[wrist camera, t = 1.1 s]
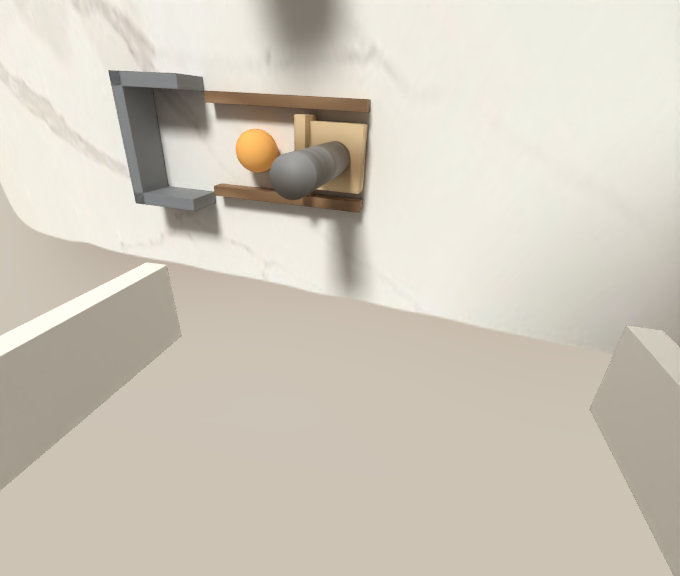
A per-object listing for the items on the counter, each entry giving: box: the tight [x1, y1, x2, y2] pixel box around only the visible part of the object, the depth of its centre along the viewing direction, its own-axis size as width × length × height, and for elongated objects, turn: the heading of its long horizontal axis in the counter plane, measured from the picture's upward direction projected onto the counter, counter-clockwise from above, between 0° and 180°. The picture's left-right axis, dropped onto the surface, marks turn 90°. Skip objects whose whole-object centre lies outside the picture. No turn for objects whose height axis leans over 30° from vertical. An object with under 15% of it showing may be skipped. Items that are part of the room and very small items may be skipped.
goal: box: [108, 70, 216, 211], centre depth 37 cm, size 12×7×4 cm, turn 177°
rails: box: [204, 91, 370, 212], centre depth 36 cm, size 10×16×2 cm, turn 87°
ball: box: [236, 129, 278, 172], centre depth 35 cm, size 4×4×4 cm
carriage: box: [270, 114, 368, 200], centre depth 29 cm, size 7×6×13 cm
